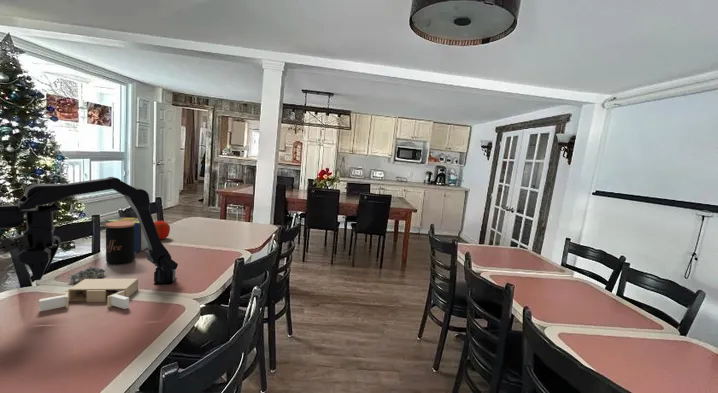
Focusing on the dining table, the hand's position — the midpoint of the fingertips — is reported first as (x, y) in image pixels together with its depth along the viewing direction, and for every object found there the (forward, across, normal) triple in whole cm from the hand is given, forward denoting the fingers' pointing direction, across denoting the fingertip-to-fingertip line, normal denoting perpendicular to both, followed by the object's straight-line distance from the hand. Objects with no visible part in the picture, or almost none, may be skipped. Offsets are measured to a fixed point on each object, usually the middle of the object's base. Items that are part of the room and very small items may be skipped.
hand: (42, 274), depth 98 cm
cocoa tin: (+12, -8, +10) cm, 17 cm away
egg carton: (+12, -25, +8) cm, 29 cm away
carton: (+12, -6, +15) cm, 20 cm away
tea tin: (+12, -4, +19) cm, 23 cm away
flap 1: (+12, -1, +2) cm, 12 cm away
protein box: (+12, -64, +21) cm, 69 cm away
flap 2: (+12, +6, +21) cm, 24 cm away
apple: (+12, -80, +35) cm, 88 cm away
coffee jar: (+12, -44, +18) cm, 49 cm away
